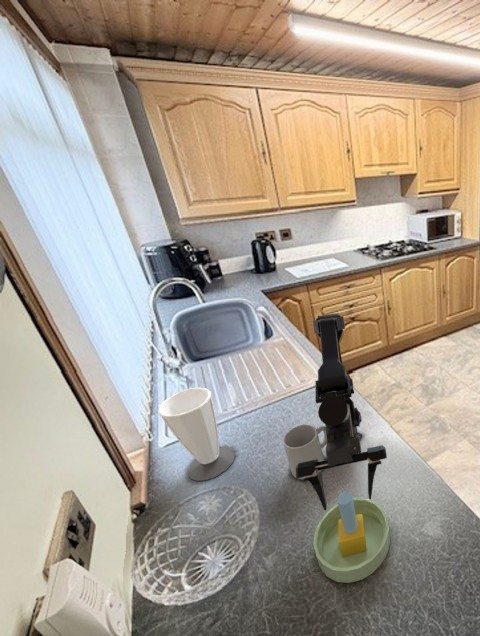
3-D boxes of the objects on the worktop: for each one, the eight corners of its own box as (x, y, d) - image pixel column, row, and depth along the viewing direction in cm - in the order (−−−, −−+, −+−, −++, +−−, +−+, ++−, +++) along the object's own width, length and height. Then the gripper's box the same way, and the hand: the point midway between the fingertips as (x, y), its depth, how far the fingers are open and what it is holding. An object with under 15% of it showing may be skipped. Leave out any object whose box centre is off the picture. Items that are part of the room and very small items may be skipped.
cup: (217, 442, 102) (193, 382, 93) (244, 454, 97) (221, 393, 88) (178, 472, 93) (146, 409, 83) (205, 487, 88) (175, 422, 79)
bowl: (346, 501, 83) (343, 488, 81) (402, 525, 77) (401, 512, 75) (302, 564, 71) (297, 551, 69) (365, 598, 65) (362, 585, 63)
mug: (304, 485, 87) (295, 454, 83) (284, 470, 92) (275, 439, 87) (341, 454, 96) (334, 424, 91) (321, 441, 101) (314, 412, 96)
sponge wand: (341, 534, 75) (331, 490, 69) (364, 528, 76) (356, 484, 70) (342, 557, 71) (331, 513, 65) (367, 550, 72) (358, 506, 66)
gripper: (286, 436, 68) (293, 524, 63) (381, 417, 72) (394, 499, 67) (298, 436, 78) (304, 513, 74) (380, 420, 82) (391, 491, 77)
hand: (348, 504), depth 73 cm, fingers open, 9 cm apart
